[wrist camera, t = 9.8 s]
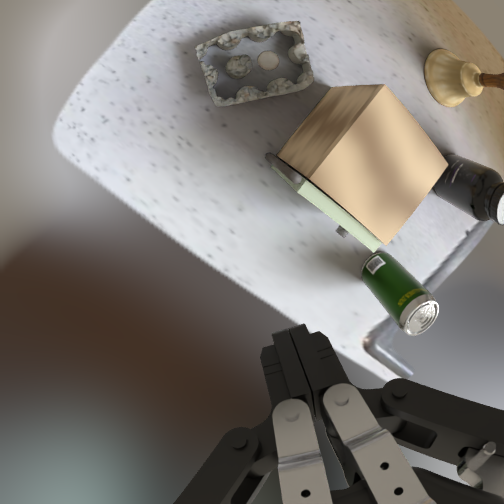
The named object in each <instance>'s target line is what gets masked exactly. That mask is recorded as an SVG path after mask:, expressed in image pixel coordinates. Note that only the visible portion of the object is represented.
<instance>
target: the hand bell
mask: <svg viewBox="0 0 504 504" xmlns="http://www.w3.org/2000/svg"><path fill="white" fill-rule="evenodd" d="M424 73H425V80H426V84H427V87H428V89H429V91H430V93H431V95H432V96H433V97H434V99H435V100H436V101H437V102H438V103H440V104H441V105H443V106H446V107H455V106H457V105H459V104H460V103H461V102H462V101H463V100H464V98H465V97H474V96H478V95H479V94H480V93H481V91H482V89H483V87H497V88H501V89H503V90H504V73H502V74H498V75H493V74H485V73H481V72H480V70H479V69H478V67H477V66H476V65H474V64H473V63H470V62H465V61H461V60H459V59H458V58H457V56H455V55H454V54H453V53H451V52H450V51H448V50H445V49H437V50H434V51H432V52H431V53H430V54H429V56H428V57H427V60H426V62H425V68H424Z"/></svg>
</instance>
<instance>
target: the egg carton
mask: <svg viewBox="0 0 504 504" xmlns="http://www.w3.org/2000/svg"><path fill="white" fill-rule="evenodd" d="M278 31H281V33H282V34H284V35H286V36H290V37H293V39H294V42H295V45H293V46H292V47H291V48H290V49H289V51H288V56H289V58H290V60H291V61H292V62H293V63H296V64H301V65H302V67H303V73H302V74H301V75H299V77H298V78H297V84H293V83H292V82H291V81H290V80H288V79H287V78H278V79H275V80H273V81H271V82H270V83H269V84H268V86H267V92H264V91H260V90H258V89H257V87H255V86H244V87H242V88H241V89H240V90H239V91H238V92H237V93H236V96H235V99H233V98H231V97H230V98H228V99H227V100H225V99H223V98H222V97H219V96H217V95H216V90H215V89H214V88H213V86H214V85H215V84H216V83H217V79H218V71H217V69H214V68H213V67H212V66H211V65H205V63H204V61H201V62H200V59H201V58H203V57H204V56H205V55H206V53H207V49H208V47H209V46H211V45H215V44H217V45H218V46H219V48H221V49H223V50H232V49H234V48H235V47H237V45H238V44H239V43H240V41H241V39H242V38H244V37H246V36H249V38H250V39H251V40H253V41H255V42H264V41H266V40H267V39H268V38H270V37H272V36H273V35H274V34H275V33H276V32H278ZM195 49H196V54H197V58H198V60H199V62H200V65H201V68H202V72H203V74H204V76H205V80H206V83H207V85H208V91H209V94H210V96H211V98H212V100H213V102H214V103H215V105H216V106H217V107H221V106H229V105H234V104H239V103H244V102H249V101H253V100H257V99H263V98H267V97H272V96H277V95H283V94H288V93H293V92H297V91H301V90H304V89H305V88H307V87H308V86H309V85H310V84H311V83H312V82H313V81H314V77H313V71H312V69H311V65H310V61H309V56H308V54H307V53H306V49H305V45H304V36H303V33H302V30H301V26H300V22H299V21H292V22H291V21H289V22H281V23H274V24H269V25H264V26H257V27H251V28H247V29H241V30H236V31H231V32H228V33H225V34H223V35H220V36H218V37H216V38H214V39H211V40H209V41H207V42H205V43H203V44H200V45H198V46H196V47H195ZM258 64H259V66H260V67H261V68H262V69H265V70H273V69H275V68H276V67H277V66H278V64H279V58H278V56H277V55H276V54H275V53H274V52H271V51H265V52H263V53H261V54H260V55H259V57H258ZM225 69H226V72H227V74H228V75H229V76H230V77H232V78H234V79H240V78H243V77H245V76H246V75H247V74H248V73H249V72H250V71H251V69H252V62H251V58H250V57H249V56H248V55H241V56H234V57H232V58H231V59H230V60H229V61H228V63H227V65H226V68H225ZM263 93H264V94H263Z"/></svg>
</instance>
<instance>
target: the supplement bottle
mask: <svg viewBox="0 0 504 504" xmlns="http://www.w3.org/2000/svg"><path fill="white" fill-rule="evenodd" d="M444 159H445V160H446V162H447V163H448V166H447V168H446V169H445V170H444V172H443V173H442V175H441V176H440V177H439V179H438V180H437V181H436V183H435V184H434V189H435V192H436V193H437V195H438V196H439V197H440V198H442V199H443V200H445V201H447V202H448V203H450V204H452V205H454V206H455V207H457V208H459V209H460V210H462V211H464V212H465V213H467V214H469V215H470V216H472V217H473V218H475V219H477V220H479V221H488V220H490V219H491V220H492V221H494V222H496V223H498V224H500V225H504V182H503V180H502V178H501V176H500V175H499V173H498V172H496V171H495V170H493V169H491V168H489V167H486V166H484V165H481V164H479V163H476V162H474V161H471V160H469V159H466V158H463V157H461V156H458V155H454V154H449V155H446V156H444Z"/></svg>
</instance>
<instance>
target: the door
mask: <svg viewBox="0 0 504 504" xmlns="http://www.w3.org/2000/svg"><path fill="white" fill-rule="evenodd" d="M271 168H272V169H273V170H275V171H276V172H277V173H278V174H279V175H280V176H281V177H282V178H283V179H284V180H285V181H286V182H287V183H288V184H289V185H290V186H291V187H292V188H293V189H294V190H295V191H296V192H298V193H299V194H300V195H302V196H303V197H304V198H306V199H307V200H308V201H310V202H311V203H312V204H313V205H315V206H316V207H317V208H319V209H320V210H321V211H323V212H324V213H325V214H326V215H328V216H329V217H330V218H332V219H333V220H334V221H335V222H337V223H338V224H339V225H340V226H339V227H338V228H337V229H336V232H337V233H338V234H340V235H341V236H342V237H343V238H345V237H346V235H347V234H348V233H350V234H352V235H353V236H354V237H355V238H357V239H358V240H359V241H360V242H361V243H363V244H364V245H365V246H366V247H367V248H369V249H370V250H371V251H372V252H373V253H374V252H375V251H376V250H377V249H378V247H379V246H380V245H381V244H382V243H381V242H380V241H379V240H378V239H377V238H376V237H375V236H374V235H372V234H371V233H370V232H369V231H368V230H367V229H366V228H364V227H363V226H362V225H361V224H360V223H359V222H357V221H356V220H355V219H354V218H353V217H352V216H350V215H349V214H348V213H347V212H346V211H344V210H343V209H342V208H341V207H340V206H338V205H337V204H336V203H335V202H333V201H332V200H331V199H330V198H329V197H327V196H326V195H325V194H324V193H322V192H321V191H320V190H319V189H317V188H316V187H315V186H314V185H312V184H311V183H310V182H308V181H307V180H306V179H305V178H303V177H302V176H301V175H300V176H301V178H302V179H301V182H300V183H298V184H294V183H293V182H292V181H291V180H289V179H288V178H287V177H286V176H285V175H284V174H283V173H282V172H280V171H279V170H278V169H277V168H276V167H275V166H274V165H272V166H271Z"/></svg>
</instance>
